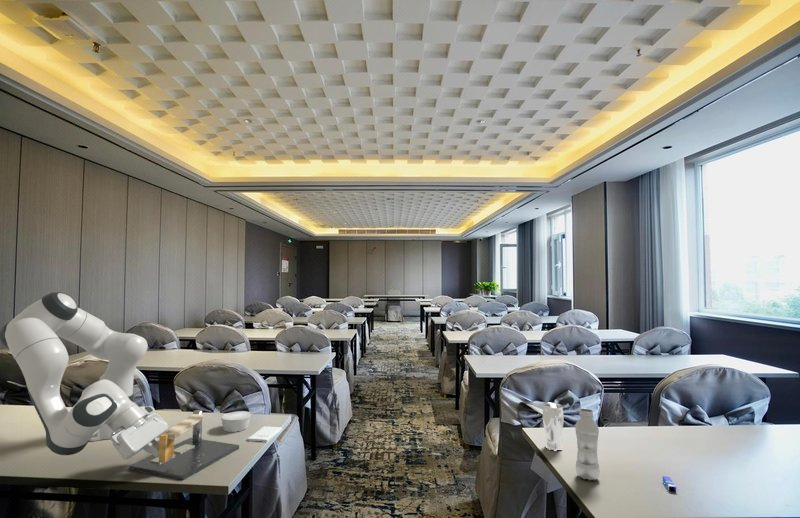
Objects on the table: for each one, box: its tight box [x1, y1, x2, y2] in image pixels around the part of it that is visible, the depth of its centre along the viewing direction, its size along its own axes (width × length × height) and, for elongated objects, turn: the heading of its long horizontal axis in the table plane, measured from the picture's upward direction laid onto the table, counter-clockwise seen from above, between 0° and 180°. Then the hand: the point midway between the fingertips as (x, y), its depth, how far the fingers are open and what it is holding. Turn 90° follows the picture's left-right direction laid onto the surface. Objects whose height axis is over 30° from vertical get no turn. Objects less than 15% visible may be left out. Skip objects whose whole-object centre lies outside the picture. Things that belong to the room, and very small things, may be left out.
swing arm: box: [158, 413, 204, 463], centre depth 134 cm, size 20×4×8 cm, turn 1°
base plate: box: [128, 409, 240, 481], centre depth 135 cm, size 22×24×12 cm
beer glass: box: [542, 402, 564, 451], centre depth 143 cm, size 7×7×15 cm
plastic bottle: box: [574, 408, 601, 481], centre depth 121 cm, size 6×7×20 cm
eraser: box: [662, 475, 677, 493], centre depth 115 cm, size 2×6×2 cm, turn 160°
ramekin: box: [221, 410, 252, 433], centre depth 162 cm, size 11×11×5 cm
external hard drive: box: [246, 426, 283, 443], centre depth 155 cm, size 2×8×12 cm
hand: (160, 453), depth 126 cm, fingers closed
